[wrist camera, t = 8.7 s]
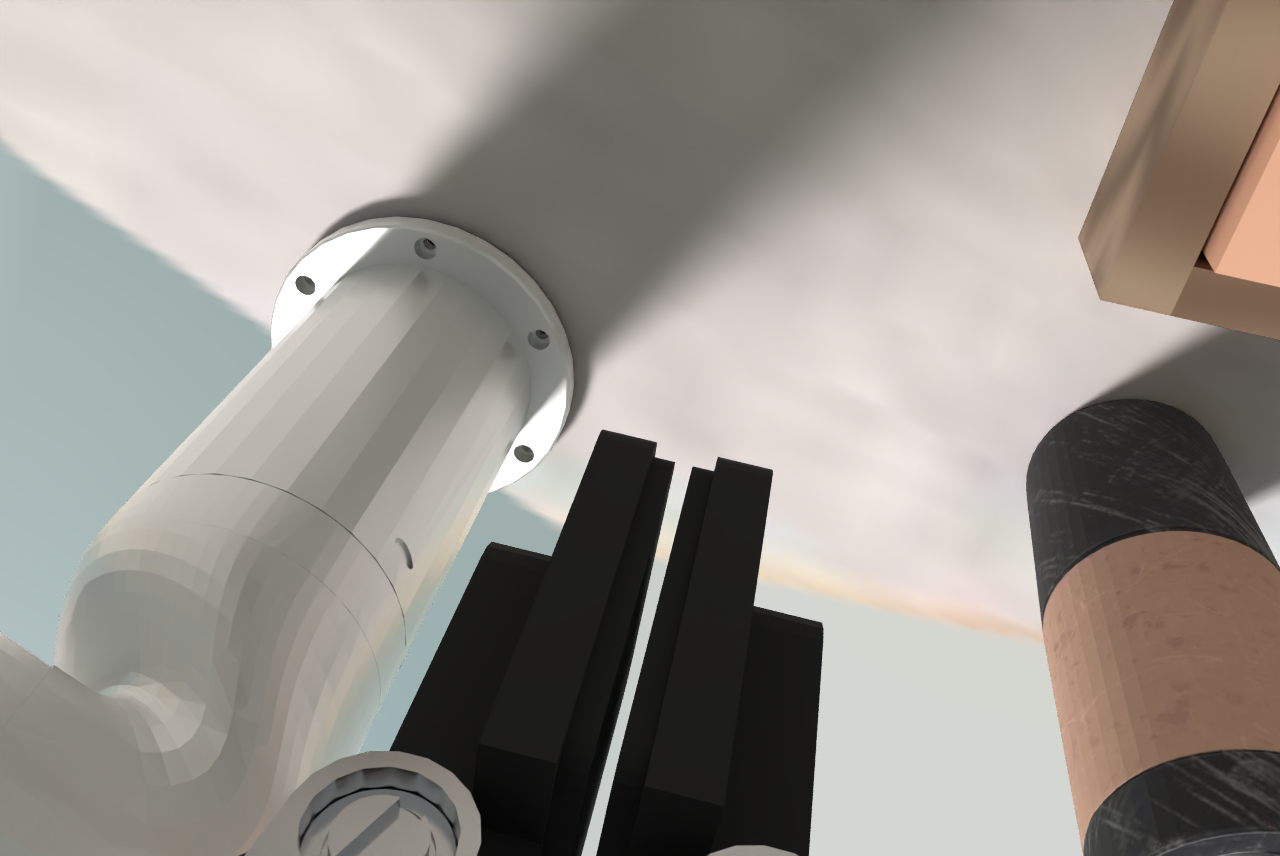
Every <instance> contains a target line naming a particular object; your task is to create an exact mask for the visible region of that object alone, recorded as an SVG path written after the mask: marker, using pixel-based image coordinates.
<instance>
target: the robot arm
mask: <svg viewBox="0 0 1280 856" xmlns="http://www.w3.org/2000/svg"><path fill="white" fill-rule="evenodd" d="M428 239H429V240H431V241H432V242H433V243H434V244H435V245H432V244H430V243H429V241H428ZM539 330H541V331H543V332H545V333H546V334H543V333H541V332H540V331H539ZM271 341H272V343H271V345H272V349H271V350H270V351H269V352H268V353H267V354H266V355H265V356H264V357H263V359H262V360H261V361H260V362H259V363H258V364H257V365H256V366H255V367H254V368H253V369H252V370H251V371H250V372H249V373H248V374H247V375H246V377H245V378H244V379H243V380H242V381H241V382H240V383H239V384H238V385H237V386H236V387H235V388H234V389H233V390H232V391H231V392H230V393H229V394H228V395H227V396H226V397H225V398H224V400H223V401H222V402H221V403H220V404H219V405H218V406H217V407H216V408H215V409H214V410H213V411H212V412H211V413H210V414H209V415H208V417H206V418H205V420H204V421H203V422H202V423H201V424H200V425H199V426H198V427H197V428H196V429H195V430H194V431H193V432H192V433H191V434H190V435H189V436H188V438H186V440H185V441H184V442H183V443H182V444H181V445H180V446H179V447H178V448H177V449H176V450H175V451H174V452H173V453H172V454H171V455H170V457H169V458H168V459H167V460H166V461H165V462H164V463H163V464H162V465H161V466H160V467H159V468H158V469H157V470H156V471H155V472H154V473H153V474H152V475H151V476H150V477H149V478H148V480H147V481H146V482H145V483H144V484H143V485H142V486H141V487H140V488H139V489H138V490H137V491H136V492H135V494H134V495H133V496H132V497H131V498H130V499H129V500H128V501H127V502H126V503H125V504H124V505H123V506H122V507H121V508H120V509H119V510H118V511H117V512H116V513H115V514H114V516H113V517H112V518H111V519H110V520H109V522H107V523H106V525H105V526H104V527H103V528H102V529H101V530H100V531H99V533H98V534H97V535H96V536H95V538H94V539H93V541H92V542H91V543H90V545H89V546H88V548H87V549H86V551H85V552H84V554H83V556H82V558H81V560H80V562H79V564H78V566H77V567H76V569H75V571H74V573H73V575H72V578H71V581H70V584H69V586H68V589H67V592H66V595H65V598H64V601H63V604H62V608H61V612H60V616H59V622H58V628H57V635H56V641H55V648H54V660H53V666H52V667H50V666H49V665H47V664H46V663H45V662H43V661H42V660H40V659H39V658H38V657H36V656H35V655H33V654H32V653H30V652H29V651H28V650H26V649H25V648H23V647H22V646H21V645H19V644H18V643H16V642H15V641H13V640H12V639H10V638H9V637H8V636H6V635H5V634H3V633H2V632H1V631H0V856H581V854H582V850H583V847H584V843H585V839H586V835H587V831H588V828H589V824H590V820H591V816H592V813H593V809H594V805H595V801H596V798H597V794H598V790H599V786H600V783H601V779H602V775H603V771H604V767H605V764H606V760H607V756H608V752H609V748H610V744H611V740H612V737H613V733H614V730H615V726H616V722H617V718H618V714H619V711H620V707H621V703H622V699H623V695H624V692H625V687H626V684H627V679H628V675H629V671H630V666H631V662H632V658H633V653H634V649H635V644H636V640H637V635H638V630H639V626H640V621H641V617H642V612H643V608H644V603H645V599H646V594H647V589H648V584H649V580H650V576H651V571H652V567H653V562H654V557H655V553H656V548H657V544H658V539H659V535H660V530H661V525H662V521H663V516H664V512H665V507H666V503H667V498H668V493H669V489H670V484H671V480H672V475H673V470H674V465H675V462H672V461H668V460H664V459H660V458H655V453H656V447H657V442H653V441H649V440H645V439H640V438H636V437H632V436H628V435H624V434H619V433H615V432H611V431H607V430H602V431H601V432H600V435H599V437H598V439H597V442H596V444H595V447H594V450H593V452H592V455H591V457H590V460H589V462H588V465H587V467H586V470H585V473H584V475H583V478H582V480H581V483H580V485H579V488H578V490H577V493H576V495H575V498H574V501H573V503H572V506H571V508H570V511H569V513H568V516H567V518H566V521H565V524H564V526H563V529H562V531H561V534H560V537H559V539H558V542H557V544H556V547H555V549H554V552H553V554H552V556H548V555H544V554H540V553H536V552H531V551H527V550H523V549H519V548H515V547H511V546H507V545H503V544H499V543H495V542H491V543H490V544H489V545H488V546H487V547H486V549H485V551H484V553H483V555H482V556H481V558H480V560H479V563H478V565H477V567H476V569H475V571H474V573H473V575H472V577H471V579H470V582H469V584H468V586H467V588H466V590H465V592H464V594H463V597H462V599H461V601H460V603H459V605H458V607H457V609H456V611H455V613H454V616H453V618H452V620H451V622H450V624H449V626H448V628H447V630H446V632H445V635H444V637H443V639H442V641H441V643H440V645H439V647H438V649H437V651H436V653H435V656H434V658H433V660H432V662H431V664H430V666H429V668H428V670H427V672H426V675H425V677H424V679H423V681H422V683H421V685H420V687H419V689H418V691H417V694H416V696H415V698H414V700H413V702H412V704H411V706H410V708H409V710H408V713H407V715H406V717H405V719H404V721H403V723H402V725H401V727H400V729H399V732H398V734H397V736H396V738H395V740H394V742H393V744H392V746H391V749H390V751H370V752H365V753H361V754H358V753H359V751H360V749H361V747H362V744H363V743H364V740H365V738H366V736H367V734H368V732H369V730H370V728H371V726H372V723H373V722H374V719H375V717H376V715H377V713H378V711H379V709H380V707H381V705H382V703H383V701H384V699H385V697H386V695H387V693H388V691H389V689H390V687H391V685H392V683H393V681H394V679H395V677H396V675H397V673H398V671H399V669H400V667H401V666H402V663H403V662H404V660H405V658H406V656H407V654H408V652H409V650H410V647H411V646H412V644H413V642H414V639H415V638H416V636H417V634H418V632H419V630H420V628H421V626H422V624H423V622H424V620H425V618H426V616H427V614H428V612H429V610H430V608H431V606H432V604H433V602H434V600H435V598H436V596H437V594H438V592H439V590H440V588H441V586H442V584H443V582H444V580H445V577H446V576H447V574H448V572H449V570H450V568H451V566H452V564H453V562H454V560H455V558H456V556H457V554H458V552H459V550H460V548H461V546H462V544H463V542H464V540H465V538H466V536H467V534H468V532H469V530H470V528H471V526H472V524H473V522H474V520H475V518H476V516H477V514H478V512H479V510H480V508H481V506H482V504H483V502H484V500H485V498H486V496H487V494H488V493H490V492H494V491H496V490H499V489H501V488H503V487H506V486H508V485H510V484H513V483H515V482H517V481H518V480H520V479H521V478H522V477H524V476H525V475H527V474H528V473H529V472H531V471H532V470H534V469H535V468H536V467H537V466H538V465H539V464H540V462H541V461H542V460H543V459H544V458H545V457H546V456H547V455H548V453H549V452H550V451H551V450H552V448H553V446H554V444H555V442H556V440H557V439H558V437H559V435H560V433H561V431H562V429H563V427H564V424H565V421H566V419H567V416H568V414H569V411H570V408H571V402H572V395H573V389H574V372H573V358H572V354H571V350H570V347H569V343H568V339H567V336H566V332H565V330H564V328H563V326H562V324H561V322H560V319H559V317H558V315H557V313H556V311H555V309H554V307H553V305H552V304H551V302H550V301H549V300H548V298H547V297H546V296H545V294H544V293H543V292H542V290H541V289H540V288H539V286H538V285H537V283H536V282H535V281H534V280H533V279H532V278H531V277H530V276H529V275H528V274H527V273H526V272H525V271H524V270H523V269H522V268H521V267H520V266H519V265H518V264H517V263H516V262H515V261H514V260H513V259H511V258H510V257H508V256H507V255H506V254H504V253H503V252H501V251H500V250H498V249H497V248H495V247H494V246H492V245H491V244H490V243H488V242H487V241H485V240H483V239H481V238H479V237H477V236H474V235H472V234H470V233H468V232H466V231H464V230H462V229H459V228H457V227H454V226H450V225H447V224H443V223H439V222H436V221H432V220H428V219H421V218H410V217H398V216H395V217H386V218H376V219H368V220H365V221H361V222H358V223H355V224H352V225H349V226H346V227H343V228H341V229H339V230H337V231H336V232H334V233H332V234H331V235H329V236H327V237H326V238H324V239H322V240H321V241H319V242H318V243H317V244H316V245H315V246H314V247H313V248H312V249H311V250H309V251H308V252H307V253H306V254H305V255H304V256H303V257H302V258H301V259H300V260H299V261H298V262H297V263H296V265H295V266H294V267H293V268H292V269H291V270H290V272H289V273H288V275H287V276H286V278H285V280H284V283H283V285H282V287H281V289H280V291H279V293H278V296H277V298H276V301H275V306H274V311H273V316H272V321H271ZM772 476H773V470H771V469H767V468H762V467H758V466H754V465H750V464H746V463H741V462H737V461H733V460H729V459H725V458H720V457H718V459H717V462H716V466H715V470H714V471H710V470H706V469H702V468H697V467H692V471H691V475H690V479H689V483H688V487H687V490H686V494H685V498H684V502H683V506H682V510H681V514H680V518H679V522H678V526H677V530H676V534H675V538H674V542H673V546H672V550H671V554H670V558H669V562H668V565H667V570H666V574H665V577H664V582H663V585H662V589H661V593H660V597H659V601H658V605H657V609H656V613H655V617H654V621H653V625H652V629H651V633H650V637H649V640H648V644H647V648H646V652H645V657H644V660H643V664H642V668H641V672H640V676H639V680H638V684H637V688H636V692H635V696H634V700H633V704H632V708H631V712H630V716H629V719H628V723H627V728H626V731H625V735H624V739H623V744H622V747H621V751H620V755H619V759H618V763H617V767H616V772H615V776H614V780H613V784H612V788H611V793H610V797H609V802H608V806H607V810H606V815H605V819H604V824H603V828H602V833H601V837H600V842H599V846H598V850H597V855H596V856H809V844H810V829H811V814H812V800H813V785H814V769H815V755H816V740H817V724H818V711H819V695H820V681H821V666H822V650H823V625H822V623H821V622H817V621H813V620H809V619H804V618H801V617H797V616H792V615H788V614H784V613H780V612H776V611H772V610H768V609H764V608H760V607H756V606H754V599H755V592H756V585H757V578H758V572H759V565H760V558H761V551H762V544H763V538H764V531H765V524H766V517H767V510H768V504H769V497H770V490H771V483H772Z"/></svg>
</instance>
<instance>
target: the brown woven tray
mask: <svg viewBox="0 0 1280 856" xmlns="http://www.w3.org/2000/svg"><path fill="white" fill-rule="evenodd" d="M1279 84H1280V0H1174V2H1173V4H1172V6H1171V9H1170V11H1169V14H1168V16H1167V19H1166V21H1165V24H1164V26H1163V29H1162V31H1161V34H1160V36H1159V39H1158V41H1157V44H1156V46H1155V49H1154V51H1153V54H1152V56H1151V59H1150V61H1149V64H1148V66H1147V68H1146V71H1145V73H1144V76H1143V78H1142V81H1141V83H1140V86H1139V88H1138V91H1137V93H1136V96H1135V98H1134V101H1133V103H1132V106H1131V108H1130V111H1129V113H1128V116H1127V118H1126V121H1125V123H1124V125H1123V128H1122V130H1121V133H1120V135H1119V138H1118V140H1117V143H1116V145H1115V148H1114V150H1113V153H1112V155H1111V158H1110V160H1109V163H1108V165H1107V168H1106V170H1105V173H1104V175H1103V178H1102V180H1101V183H1100V185H1099V187H1098V190H1097V192H1096V195H1095V197H1094V200H1093V202H1092V205H1091V207H1090V210H1089V212H1088V215H1087V217H1086V220H1085V222H1084V225H1083V227H1082V230H1081V232H1080V235H1079V237H1078V239H1079V242H1080V245H1081V247H1082V250H1083V253H1084V256H1085V259H1086V261H1087V264H1088V267H1089V270H1090V273H1091V275H1092V278H1093V281H1094V284H1095V287H1096V289H1097V292H1098V295H1099V298H1100V300H1103V301H1108V302H1112V303H1117V304H1121V305H1126V306H1130V307H1135V308H1139V309H1144V310H1148V311H1152V312H1157V313H1161V314H1166V315H1170V316H1175V317H1179V318H1184V319H1188V320H1193V321H1197V322H1202V323H1206V324H1210V325H1215V326H1219V327H1224V328H1228V329H1233V330H1237V331H1242V332H1246V333H1251V334H1255V335H1260V336H1264V337H1268V338H1273V339H1277V340H1280V287H1276V286H1272V285H1267V284H1263V283H1258V282H1254V281H1249V280H1245V279H1240V278H1236V277H1231V276H1227V275H1222V274H1218V273H1215V272H1214V270H1213V269H1212V267H1211V265H1210V263H1209V262H1208V260H1207V258H1206V256H1205V255H1204V253H1203V251H1202V247H1203V245H1204V243H1205V241H1206V239H1207V237H1208V235H1209V232H1210V230H1211V228H1212V226H1213V224H1214V222H1215V220H1216V218H1217V215H1218V213H1219V211H1220V209H1221V207H1222V205H1223V203H1224V201H1225V198H1226V196H1227V194H1228V192H1229V190H1230V188H1231V186H1232V184H1233V181H1234V179H1235V177H1236V175H1237V173H1238V171H1239V169H1240V167H1241V164H1242V162H1243V160H1244V158H1245V156H1246V154H1247V152H1248V150H1249V147H1250V145H1251V143H1252V141H1253V139H1254V137H1255V135H1256V133H1257V130H1258V128H1259V126H1260V124H1261V122H1262V120H1263V118H1264V116H1265V113H1266V111H1267V109H1268V107H1269V105H1270V103H1271V101H1272V99H1273V96H1274V94H1275V92H1276V90H1277V88H1278V86H1279Z"/></svg>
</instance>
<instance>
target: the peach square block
mask: <svg viewBox="0 0 1280 856" xmlns="http://www.w3.org/2000/svg"><path fill="white" fill-rule="evenodd" d="M1202 251H1203V253H1204V255H1205V256H1206V258H1207V260H1208V262H1209V263H1210V265H1211V267H1212V269H1213V270H1214V272H1215V273H1218V274H1222V275H1227V276H1231V277H1236V278H1240V279H1245V280H1249V281H1254V282H1258V283H1263V284H1267V285H1272V286H1276V287H1280V84H1279V86H1278V88H1277V90H1276V92H1275V94H1274V96H1273V99H1272V101H1271V103H1270V105H1269V107H1268V109H1267V111H1266V113H1265V116H1264V118H1263V120H1262V122H1261V124H1260V126H1259V128H1258V130H1257V133H1256V135H1255V137H1254V139H1253V141H1252V143H1251V145H1250V147H1249V150H1248V152H1247V154H1246V156H1245V158H1244V160H1243V162H1242V164H1241V167H1240V169H1239V171H1238V173H1237V175H1236V177H1235V179H1234V181H1233V184H1232V186H1231V188H1230V190H1229V192H1228V194H1227V196H1226V198H1225V201H1224V203H1223V205H1222V207H1221V209H1220V211H1219V213H1218V215H1217V218H1216V220H1215V222H1214V224H1213V226H1212V228H1211V230H1210V232H1209V235H1208V237H1207V239H1206V241H1205V243H1204V245H1203V247H1202Z"/></svg>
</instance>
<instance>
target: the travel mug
mask: <svg viewBox="0 0 1280 856" xmlns="http://www.w3.org/2000/svg"><path fill="white" fill-rule="evenodd" d="M1026 491H1027V502H1028V511H1029V520H1030V528H1031V537H1032V545H1033V553H1034V562H1035V570H1036V579H1037V587H1038V595H1039V604H1040V612H1041V620H1042V629H1043V636H1044V643H1045V649H1046V654H1047V660H1048V664H1049V670H1050V676H1051V681H1052V687H1053V692H1054V697H1055V703H1056V708H1057V713H1058V720H1059V725H1060V731H1061V736H1062V741H1063V747H1064V753H1065V758H1066V763H1067V769H1068V774H1069V780H1070V785H1071V791H1072V796H1073V802H1074V807H1075V813H1076V818H1077V823H1078V829H1079V835H1080V840H1081V845H1082V851H1083V856H1280V567H1279V565H1278V563H1277V561H1276V559H1275V557H1274V555H1273V553H1272V551H1271V549H1270V547H1269V545H1268V543H1267V542H1266V540H1265V538H1264V536H1263V534H1262V532H1261V530H1260V528H1259V526H1258V524H1257V522H1256V520H1255V518H1254V516H1253V514H1252V512H1251V510H1250V508H1249V507H1248V505H1247V503H1246V501H1245V499H1244V497H1243V495H1242V493H1241V491H1240V489H1239V487H1238V485H1237V483H1236V481H1235V479H1234V477H1233V475H1232V473H1231V472H1230V470H1229V468H1228V466H1227V464H1226V462H1225V460H1224V458H1223V457H1222V455H1221V453H1220V451H1219V449H1218V448H1217V446H1216V444H1215V443H1214V441H1213V439H1212V438H1211V436H1210V435H1209V434H1208V432H1207V431H1206V430H1205V429H1204V428H1203V427H1202V426H1201V425H1200V424H1199V423H1198V422H1197V421H1195V420H1194V419H1193V418H1191V417H1190V416H1188V415H1187V414H1185V413H1184V412H1182V411H1180V410H1178V409H1175V408H1173V407H1171V406H1168V405H1165V404H1161V403H1157V402H1152V401H1146V400H1117V401H1109V402H1105V403H1101V404H1096V405H1093V406H1091V407H1088V408H1085V409H1083V410H1080V411H1078V412H1076V413H1074V414H1072V415H1071V416H1069V417H1067V418H1066V419H1064V420H1063V421H1061V422H1060V423H1059V424H1057V425H1056V426H1055V427H1054V428H1052V429H1051V430H1050V431H1049V433H1048V434H1047V435H1046V436H1045V437H1044V438H1043V439H1042V441H1041V442H1040V443H1039V445H1038V446H1037V448H1036V450H1035V452H1034V453H1033V456H1032V458H1031V461H1030V464H1029V467H1028V472H1027V481H1026Z"/></svg>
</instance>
